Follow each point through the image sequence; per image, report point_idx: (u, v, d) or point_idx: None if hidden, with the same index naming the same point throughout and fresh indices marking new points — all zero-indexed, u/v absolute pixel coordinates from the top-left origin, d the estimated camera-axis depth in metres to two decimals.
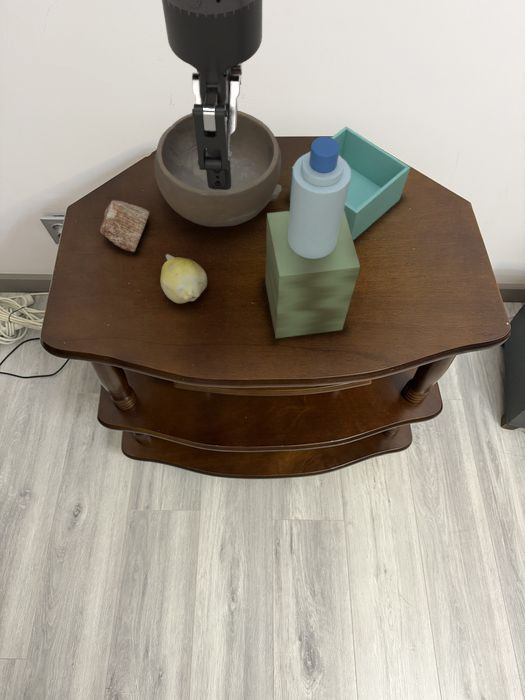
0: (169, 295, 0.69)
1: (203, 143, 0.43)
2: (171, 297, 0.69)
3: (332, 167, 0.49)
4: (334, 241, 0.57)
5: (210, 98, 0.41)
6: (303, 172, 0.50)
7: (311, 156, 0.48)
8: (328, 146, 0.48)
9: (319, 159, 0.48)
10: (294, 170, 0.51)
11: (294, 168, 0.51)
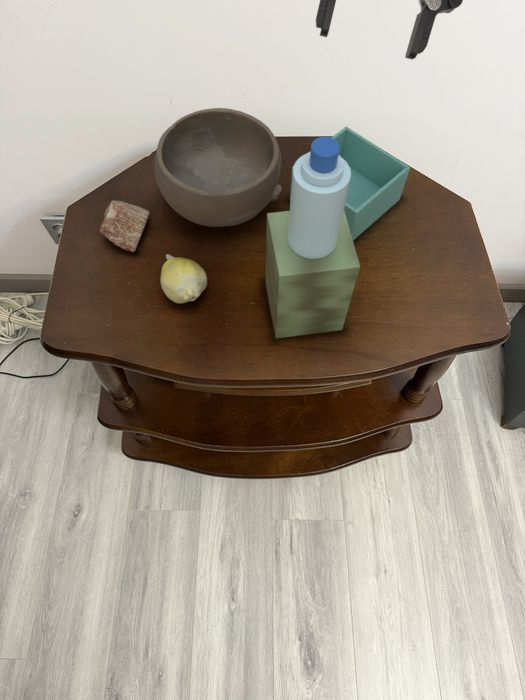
0: (169, 295, 0.69)
1: None
2: (171, 297, 0.69)
3: (332, 167, 0.49)
4: (334, 241, 0.57)
5: None
6: (303, 172, 0.50)
7: (311, 156, 0.48)
8: (328, 146, 0.48)
9: (319, 159, 0.48)
10: (294, 170, 0.51)
11: (294, 168, 0.51)
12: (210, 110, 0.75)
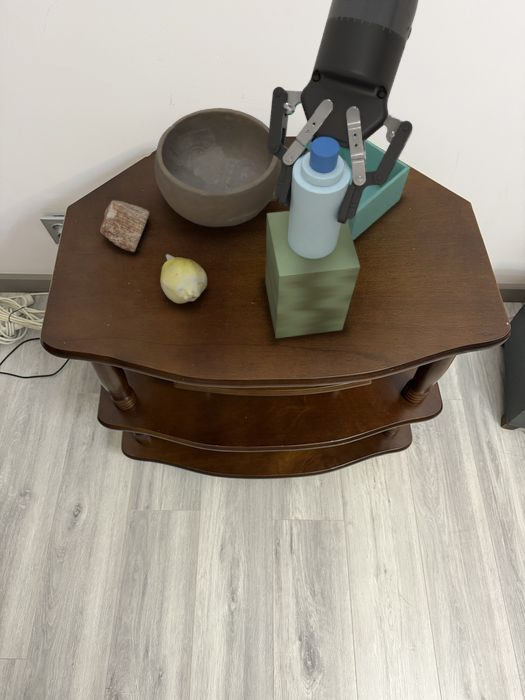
0: (169, 295, 0.69)
1: None
2: (171, 297, 0.69)
3: (332, 167, 0.49)
4: (334, 241, 0.57)
5: None
6: (303, 172, 0.50)
7: (311, 156, 0.48)
8: (328, 146, 0.48)
9: (319, 159, 0.48)
10: (293, 170, 0.51)
11: (294, 168, 0.51)
12: (210, 110, 0.75)
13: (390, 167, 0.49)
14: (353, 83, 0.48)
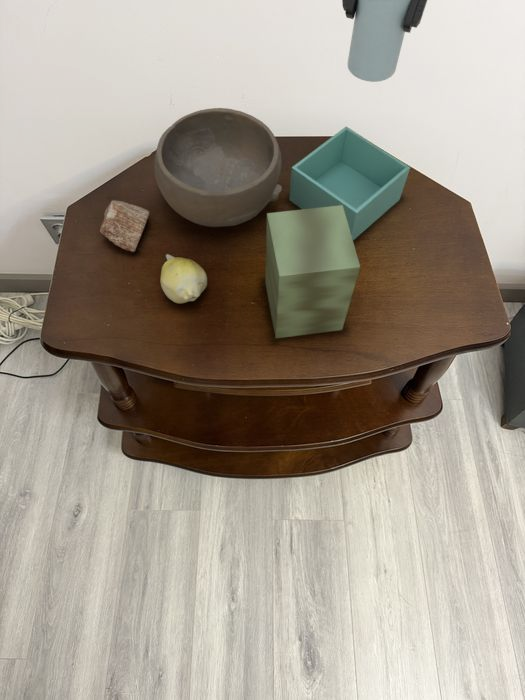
0: (169, 295, 0.69)
1: None
2: (171, 297, 0.69)
3: None
4: (395, 61, 0.59)
5: None
6: None
7: None
8: None
9: None
10: None
11: None
12: (210, 110, 0.75)
13: None
14: None
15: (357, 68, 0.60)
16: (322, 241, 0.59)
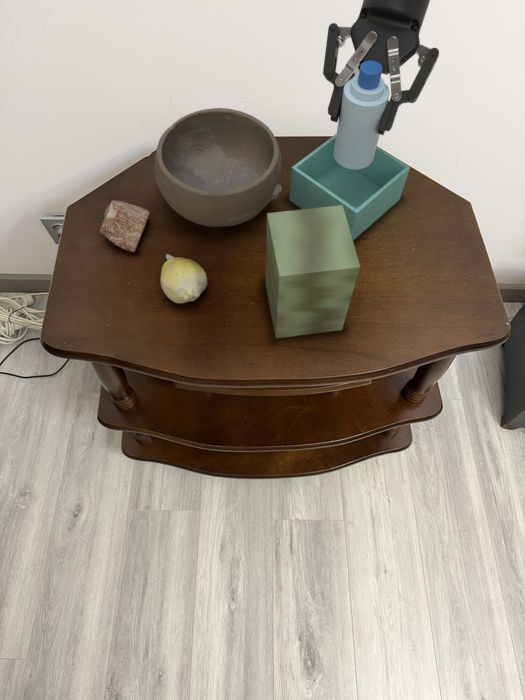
0: (169, 295, 0.69)
1: None
2: (171, 297, 0.69)
3: (376, 85, 0.63)
4: (372, 154, 0.71)
5: None
6: (352, 90, 0.63)
7: (360, 75, 0.62)
8: (373, 67, 0.62)
9: (366, 77, 0.62)
10: (344, 89, 0.64)
11: (344, 88, 0.64)
12: (210, 110, 0.75)
13: (421, 85, 0.63)
14: (393, 18, 0.62)
15: (341, 159, 0.71)
16: (322, 241, 0.59)
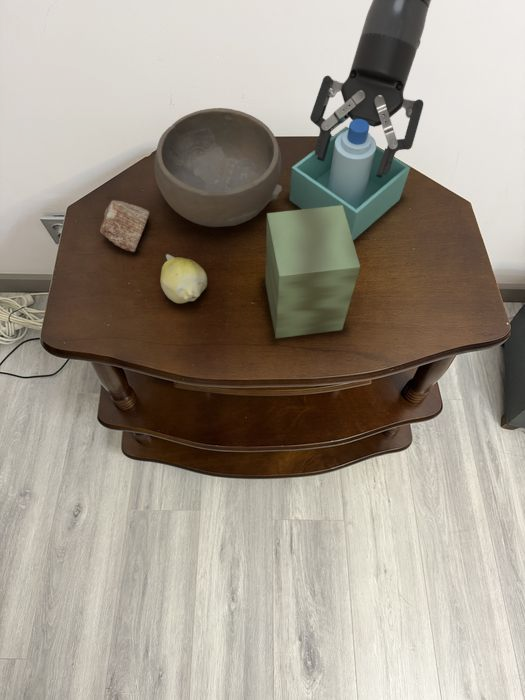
0: (169, 295, 0.69)
1: None
2: (171, 297, 0.69)
3: (363, 140, 0.70)
4: (362, 197, 0.78)
5: None
6: (343, 144, 0.71)
7: (349, 132, 0.69)
8: (361, 125, 0.69)
9: (355, 134, 0.69)
10: (335, 143, 0.72)
11: (336, 142, 0.72)
12: (210, 110, 0.75)
13: (414, 134, 0.69)
14: (379, 78, 0.68)
15: None
16: (322, 241, 0.59)
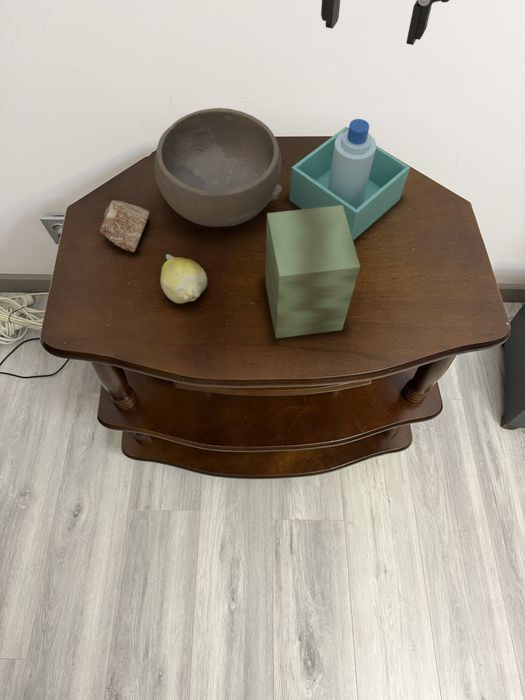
0: (169, 295, 0.69)
1: None
2: (171, 297, 0.69)
3: (363, 140, 0.70)
4: (362, 197, 0.78)
5: None
6: (343, 144, 0.71)
7: (349, 132, 0.69)
8: (361, 125, 0.69)
9: (355, 134, 0.69)
10: (335, 143, 0.72)
11: (336, 142, 0.72)
12: (210, 110, 0.75)
13: None
14: None
15: None
16: (322, 241, 0.59)
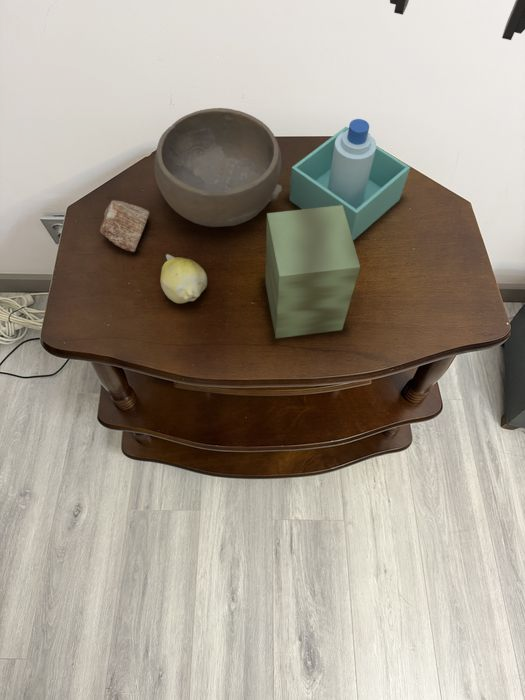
0: (169, 295, 0.69)
1: None
2: (171, 297, 0.69)
3: (363, 140, 0.70)
4: (362, 197, 0.78)
5: None
6: (343, 144, 0.71)
7: (349, 132, 0.69)
8: (361, 125, 0.69)
9: (355, 134, 0.69)
10: (335, 143, 0.72)
11: (336, 142, 0.72)
12: (210, 110, 0.75)
13: None
14: None
15: None
16: (322, 241, 0.59)
